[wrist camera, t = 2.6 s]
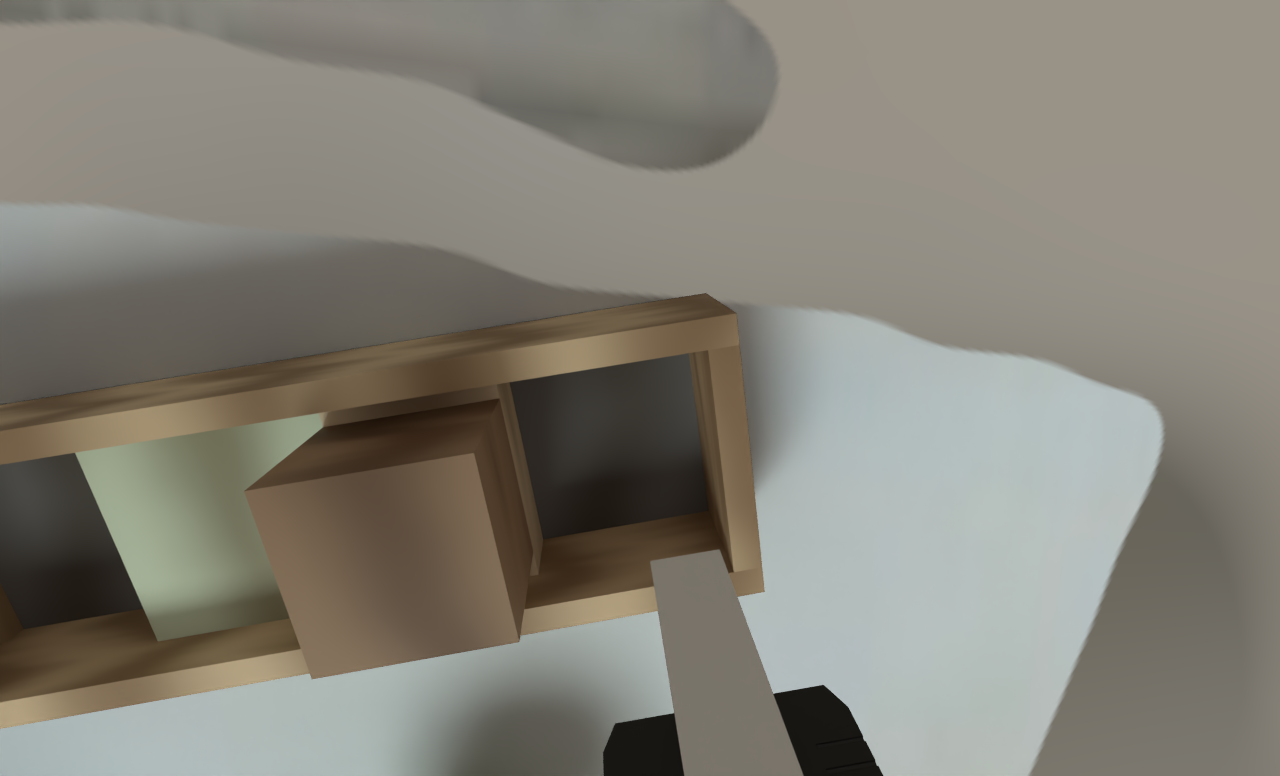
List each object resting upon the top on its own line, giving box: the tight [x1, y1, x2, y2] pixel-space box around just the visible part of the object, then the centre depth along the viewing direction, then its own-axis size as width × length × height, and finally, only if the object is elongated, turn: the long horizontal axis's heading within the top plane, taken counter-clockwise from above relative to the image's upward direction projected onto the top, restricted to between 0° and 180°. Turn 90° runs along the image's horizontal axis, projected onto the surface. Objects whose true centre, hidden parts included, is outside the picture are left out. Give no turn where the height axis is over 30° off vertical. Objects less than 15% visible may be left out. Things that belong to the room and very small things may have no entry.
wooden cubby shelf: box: [0, 293, 765, 729], centre depth 22 cm, size 30×10×5 cm, turn 98°
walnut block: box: [244, 398, 533, 679], centre depth 19 cm, size 6×6×5 cm
